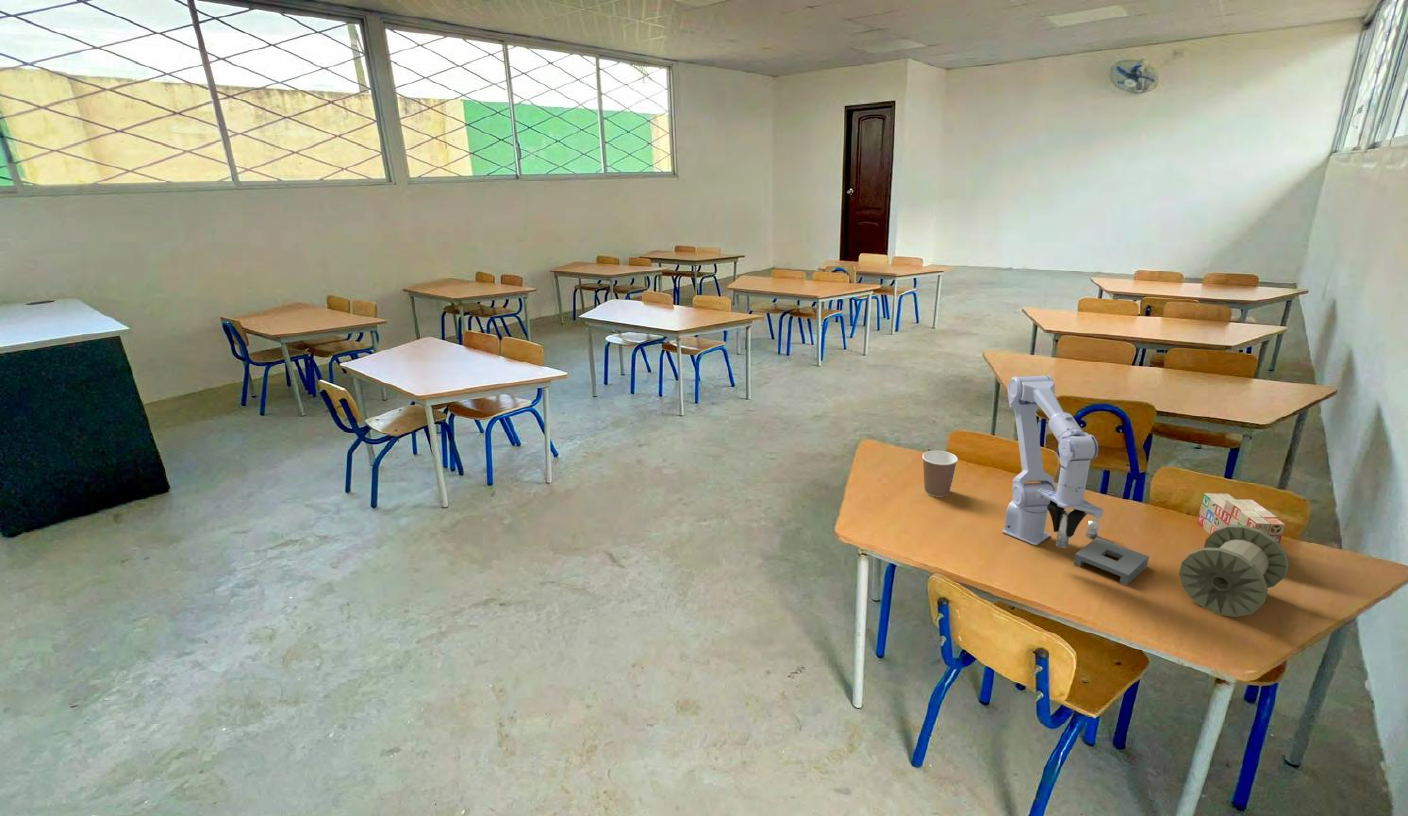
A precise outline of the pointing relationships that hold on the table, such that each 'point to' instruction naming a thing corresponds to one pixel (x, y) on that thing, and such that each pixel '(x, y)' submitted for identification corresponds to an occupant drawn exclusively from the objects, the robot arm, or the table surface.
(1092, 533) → the short pin
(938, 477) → the coffee cup
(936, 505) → the table surface
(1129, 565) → the board
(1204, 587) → the spool
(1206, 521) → the stack of blocks
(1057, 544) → the long pin
